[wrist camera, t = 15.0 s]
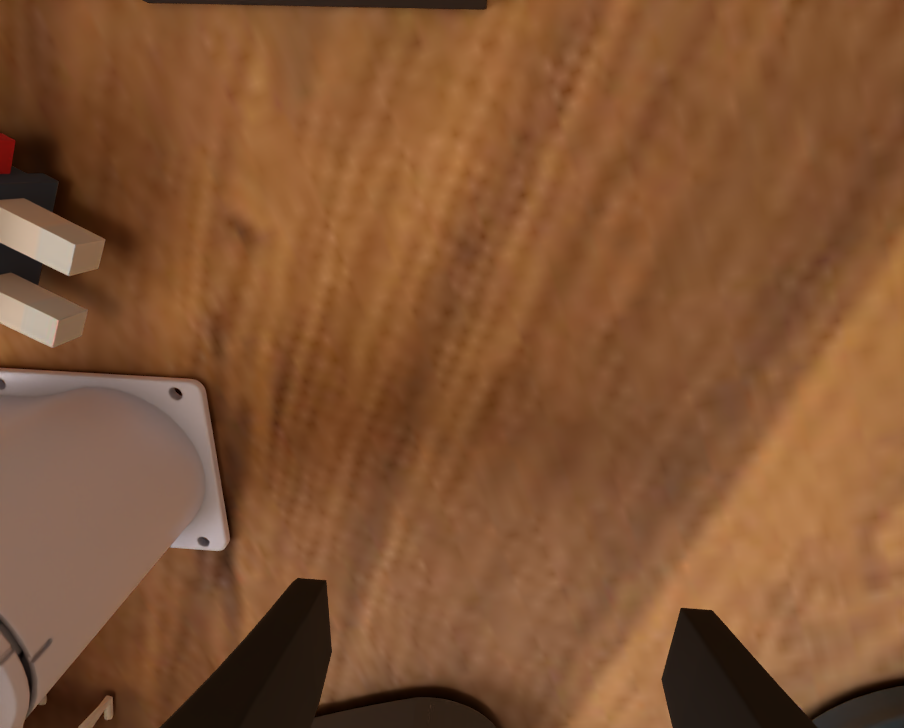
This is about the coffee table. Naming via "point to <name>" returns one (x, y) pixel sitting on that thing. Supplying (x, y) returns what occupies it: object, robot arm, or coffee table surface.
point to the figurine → (39, 255)
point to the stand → (347, 3)
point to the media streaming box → (407, 715)
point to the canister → (867, 711)
